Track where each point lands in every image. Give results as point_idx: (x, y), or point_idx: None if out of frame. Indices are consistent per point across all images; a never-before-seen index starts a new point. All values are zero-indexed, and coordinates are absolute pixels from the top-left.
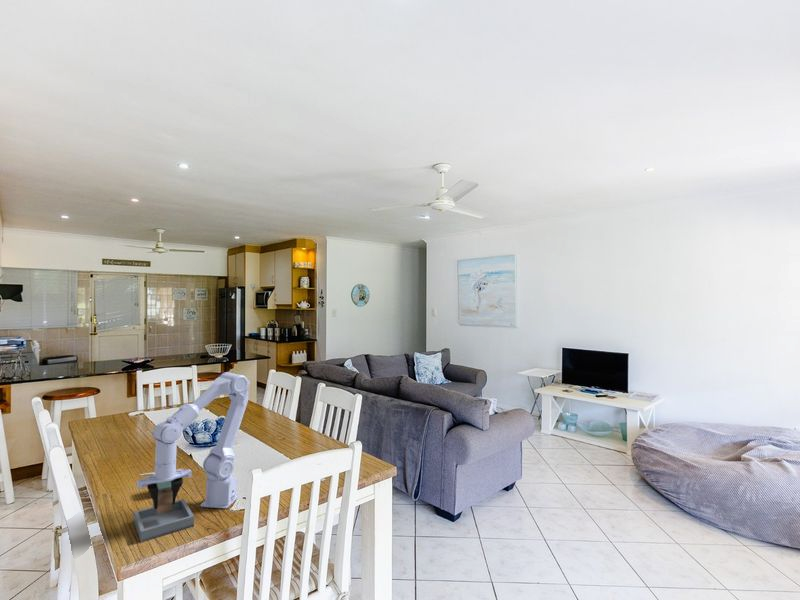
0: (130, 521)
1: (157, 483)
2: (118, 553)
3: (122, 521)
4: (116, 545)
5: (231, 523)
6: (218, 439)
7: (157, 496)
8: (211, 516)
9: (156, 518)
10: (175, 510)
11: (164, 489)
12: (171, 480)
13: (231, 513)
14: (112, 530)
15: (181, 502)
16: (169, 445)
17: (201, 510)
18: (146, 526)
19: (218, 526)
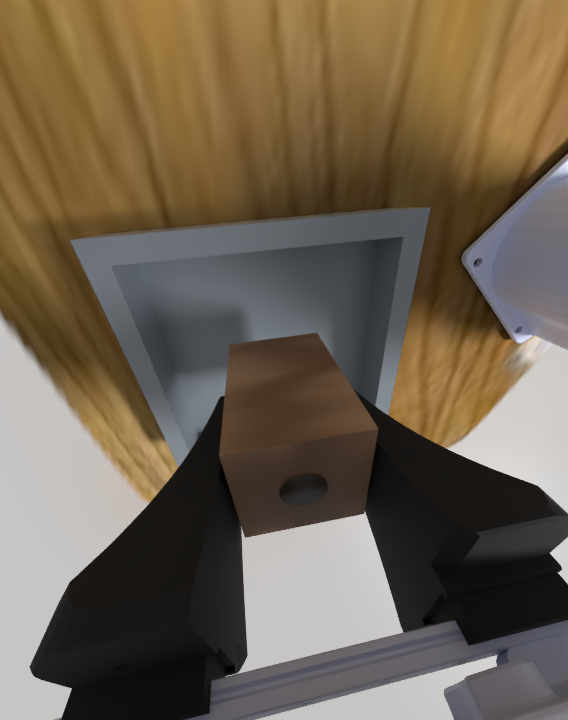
0: (84, 221)
1: (235, 694)
2: (128, 467)
3: (18, 185)
4: (100, 426)
5: (455, 434)
6: None
7: (240, 535)
8: (440, 370)
9: (240, 297)
10: (344, 249)
11: (311, 464)
12: (418, 640)
13: (497, 380)
14: (8, 291)
15: (397, 253)
16: None
17: (442, 299)
18: (197, 358)
19: None
